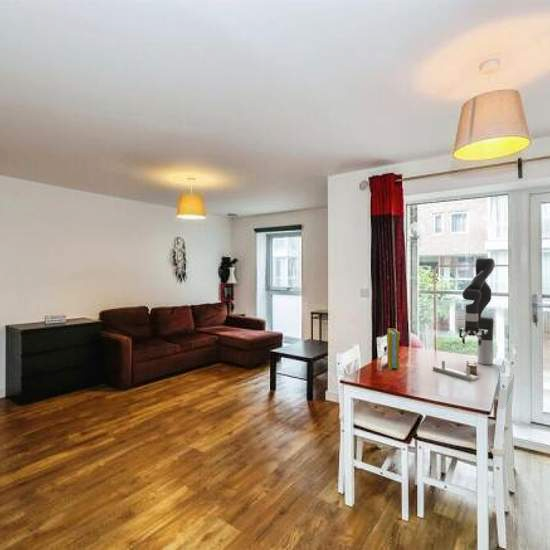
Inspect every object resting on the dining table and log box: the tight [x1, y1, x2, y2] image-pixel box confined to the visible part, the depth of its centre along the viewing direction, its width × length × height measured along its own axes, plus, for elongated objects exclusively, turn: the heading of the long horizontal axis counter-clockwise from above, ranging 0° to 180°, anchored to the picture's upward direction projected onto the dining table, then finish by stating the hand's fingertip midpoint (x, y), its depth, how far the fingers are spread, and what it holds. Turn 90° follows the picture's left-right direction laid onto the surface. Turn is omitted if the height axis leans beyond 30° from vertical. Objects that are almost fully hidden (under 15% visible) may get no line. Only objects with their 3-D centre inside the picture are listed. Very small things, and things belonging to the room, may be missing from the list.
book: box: [386, 327, 401, 371], centre depth 243 cm, size 17×7×25 cm, turn 168°
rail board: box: [432, 360, 479, 382], centre depth 224 cm, size 8×26×6 cm, turn 29°
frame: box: [466, 360, 478, 376], centre depth 227 cm, size 12×5×6 cm, turn 154°
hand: (471, 344), depth 227 cm, fingers open, 8 cm apart
